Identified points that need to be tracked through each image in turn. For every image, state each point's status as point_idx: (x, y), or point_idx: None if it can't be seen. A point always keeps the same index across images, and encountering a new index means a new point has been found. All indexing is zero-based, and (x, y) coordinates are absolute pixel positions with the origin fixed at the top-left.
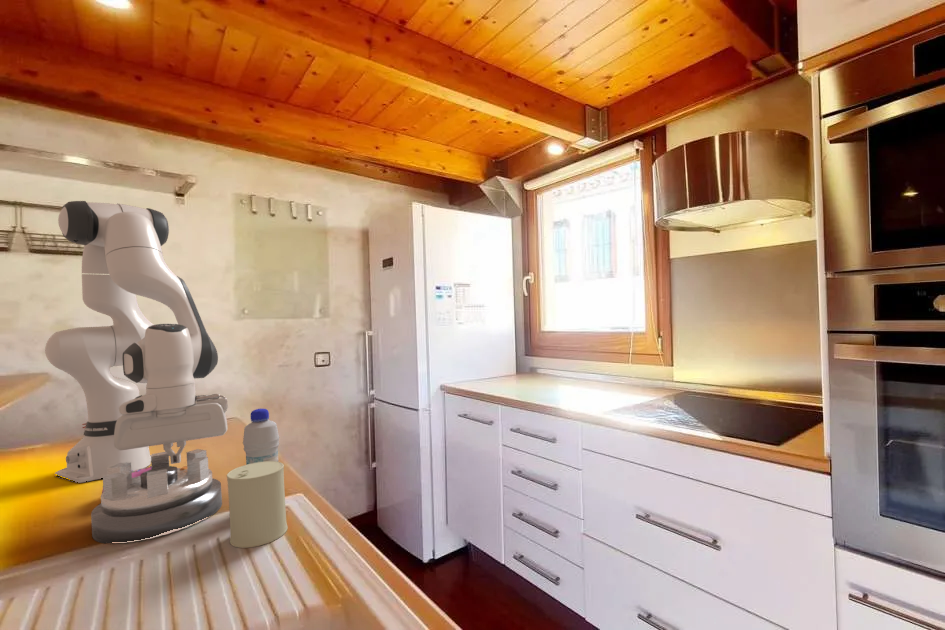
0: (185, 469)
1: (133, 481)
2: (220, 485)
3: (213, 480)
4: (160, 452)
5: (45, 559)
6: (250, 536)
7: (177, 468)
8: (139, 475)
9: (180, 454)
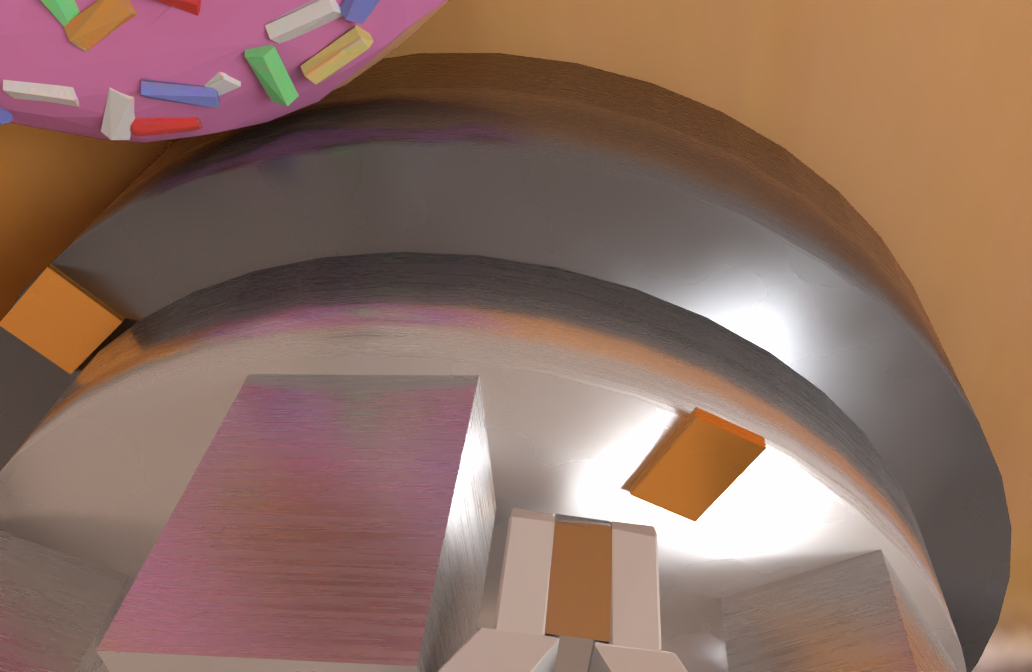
0: (703, 521)
1: (134, 564)
2: (968, 669)
3: (969, 517)
4: (257, 657)
5: None
6: None
7: (595, 402)
8: None
9: (656, 637)
